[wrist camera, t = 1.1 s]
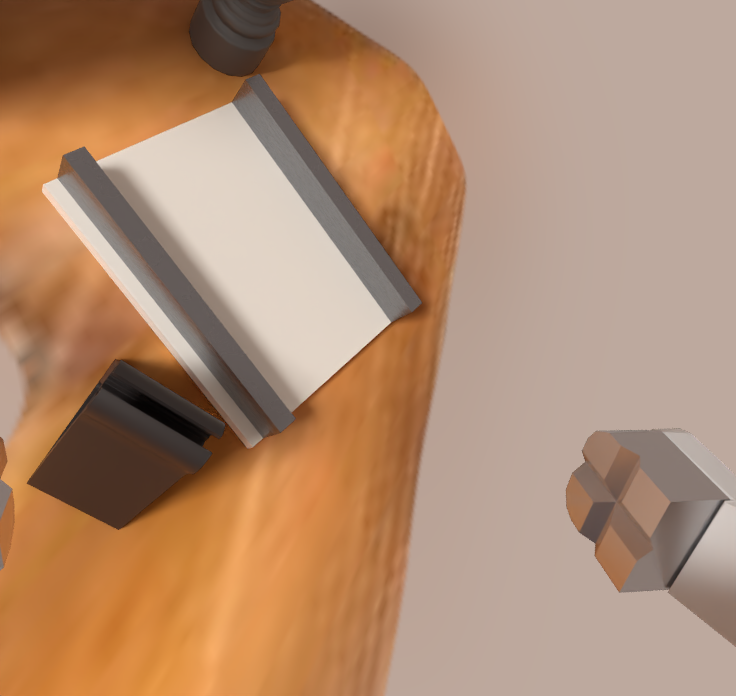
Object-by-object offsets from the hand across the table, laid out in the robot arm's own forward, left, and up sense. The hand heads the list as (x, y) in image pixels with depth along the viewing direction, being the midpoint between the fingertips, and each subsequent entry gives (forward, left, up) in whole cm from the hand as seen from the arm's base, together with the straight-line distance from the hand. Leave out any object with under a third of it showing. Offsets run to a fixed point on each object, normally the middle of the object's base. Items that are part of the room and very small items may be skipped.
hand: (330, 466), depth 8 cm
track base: (-6, +21, -33) cm, 40 cm away
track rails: (-6, +21, -33) cm, 40 cm away
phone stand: (-1, +5, -34) cm, 34 cm away
